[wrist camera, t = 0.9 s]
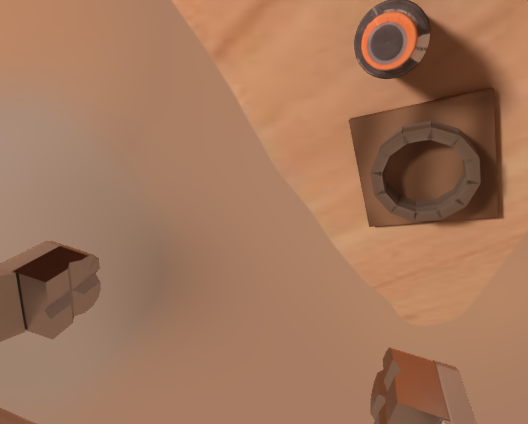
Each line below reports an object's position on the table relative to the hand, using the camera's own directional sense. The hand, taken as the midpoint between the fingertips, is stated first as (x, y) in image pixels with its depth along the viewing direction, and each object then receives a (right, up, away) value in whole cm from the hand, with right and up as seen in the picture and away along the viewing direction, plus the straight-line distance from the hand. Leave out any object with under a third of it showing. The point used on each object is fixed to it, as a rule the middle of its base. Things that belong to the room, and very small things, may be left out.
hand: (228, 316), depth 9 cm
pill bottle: (+15, +21, +26) cm, 36 cm away
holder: (+19, +8, +30) cm, 37 cm away
